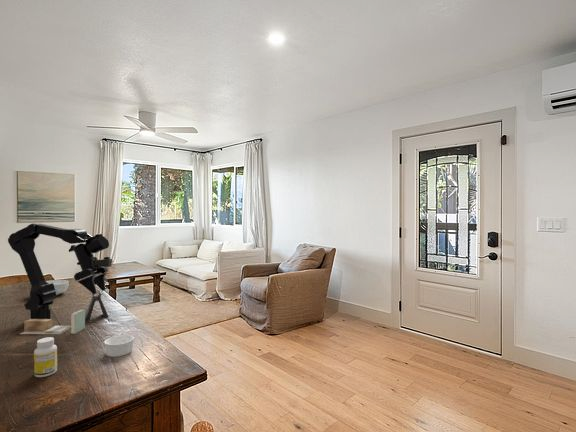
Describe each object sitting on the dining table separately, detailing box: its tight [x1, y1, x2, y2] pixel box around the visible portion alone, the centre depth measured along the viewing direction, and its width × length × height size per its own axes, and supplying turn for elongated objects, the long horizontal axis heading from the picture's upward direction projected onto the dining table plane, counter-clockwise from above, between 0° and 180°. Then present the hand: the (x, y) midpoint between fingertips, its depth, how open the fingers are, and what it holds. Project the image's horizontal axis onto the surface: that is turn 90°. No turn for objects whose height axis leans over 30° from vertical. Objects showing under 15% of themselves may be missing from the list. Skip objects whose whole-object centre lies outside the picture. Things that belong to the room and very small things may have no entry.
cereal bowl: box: [45, 279, 70, 296], centre depth 181 cm, size 17×17×7 cm
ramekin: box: [103, 334, 135, 358], centre depth 109 cm, size 9×9×4 cm
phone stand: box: [85, 289, 109, 322], centre depth 143 cm, size 9×6×12 cm, turn 123°
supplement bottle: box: [33, 336, 58, 378], centre depth 94 cm, size 5×5×10 cm
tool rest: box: [19, 331, 64, 335], centre depth 126 cm, size 15×7×1 cm, turn 91°
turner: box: [23, 318, 71, 334], centre depth 126 cm, size 15×6×4 cm, turn 91°
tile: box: [70, 309, 86, 335], centre depth 126 cm, size 2×6×8 cm, turn 1°
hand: (99, 292), depth 136 cm, fingers open, 9 cm apart
